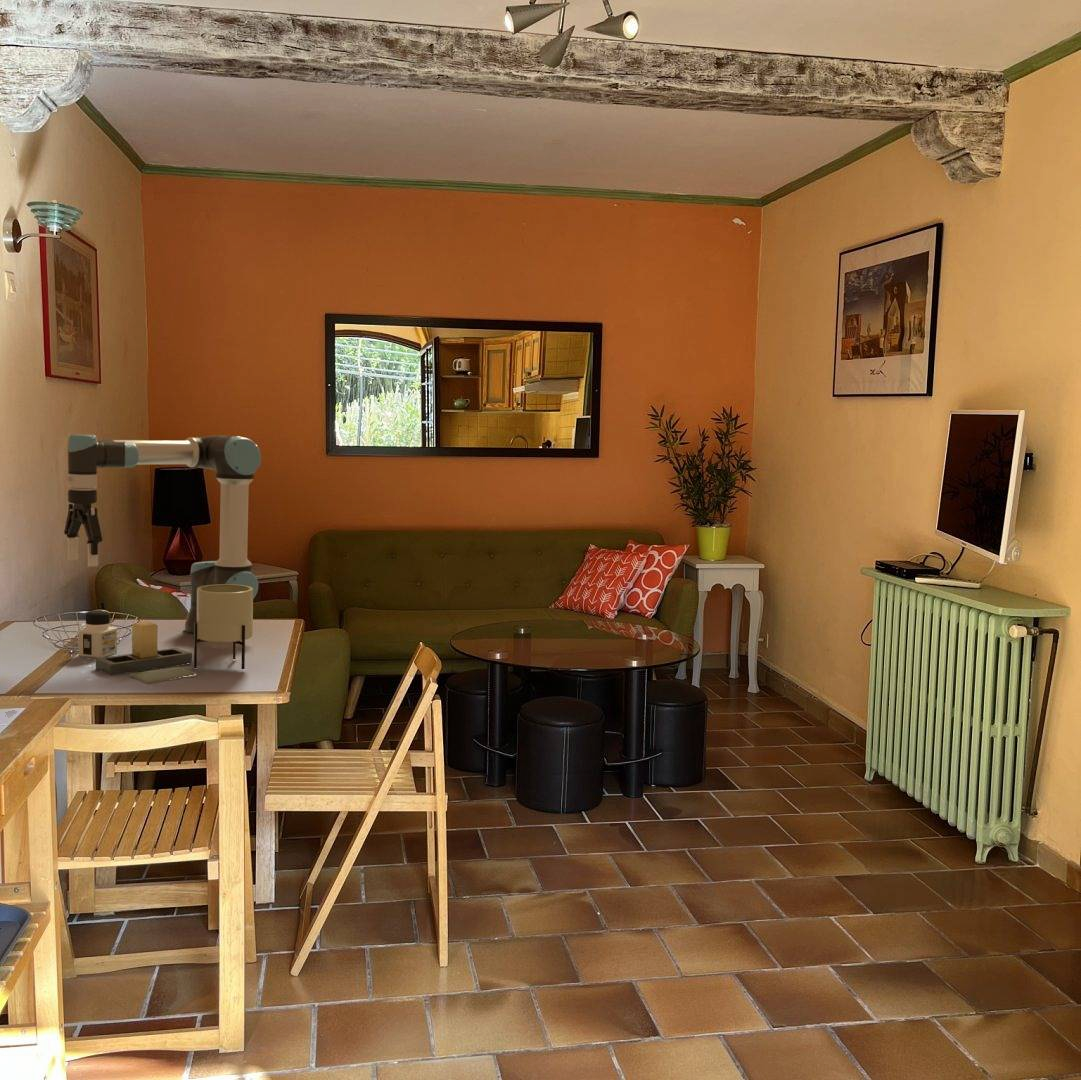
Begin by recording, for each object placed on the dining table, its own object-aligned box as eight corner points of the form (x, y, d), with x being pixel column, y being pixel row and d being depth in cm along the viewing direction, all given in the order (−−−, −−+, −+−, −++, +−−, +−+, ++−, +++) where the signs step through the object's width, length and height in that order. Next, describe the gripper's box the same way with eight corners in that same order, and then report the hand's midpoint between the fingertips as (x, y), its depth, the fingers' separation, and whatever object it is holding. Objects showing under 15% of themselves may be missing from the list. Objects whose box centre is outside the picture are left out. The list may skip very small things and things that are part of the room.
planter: (259, 662, 309) (261, 585, 307) (241, 675, 294) (242, 594, 291) (209, 659, 310) (209, 582, 308) (187, 672, 294) (188, 591, 292)
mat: (178, 668, 298) (178, 666, 298) (196, 675, 291) (196, 673, 291) (130, 675, 288) (130, 673, 288) (147, 683, 281) (147, 681, 281)
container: (101, 658, 306) (101, 614, 304) (78, 656, 307) (77, 612, 306) (117, 652, 313) (117, 609, 312) (94, 650, 315) (94, 607, 313)
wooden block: (149, 663, 303) (149, 620, 301) (157, 666, 299) (157, 623, 298) (132, 665, 299) (132, 622, 297) (140, 669, 296) (140, 625, 294)
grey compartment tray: (176, 657, 311) (176, 647, 310) (191, 663, 305) (191, 653, 304) (95, 669, 293) (95, 658, 293) (110, 675, 287) (110, 664, 287)
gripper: (51, 485, 305) (52, 558, 308) (87, 492, 288) (88, 569, 291) (77, 485, 311) (78, 556, 313) (114, 492, 293) (114, 567, 296)
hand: (83, 563), depth 302 cm, fingers open, 13 cm apart
